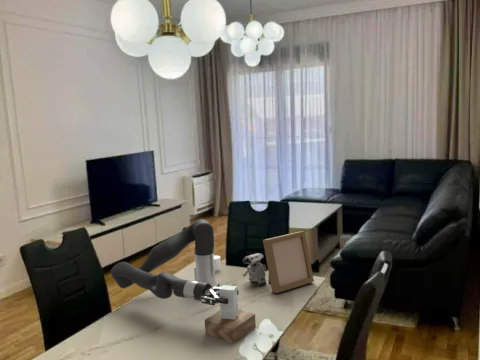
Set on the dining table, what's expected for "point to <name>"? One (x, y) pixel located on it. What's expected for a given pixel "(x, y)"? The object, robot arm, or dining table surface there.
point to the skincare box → (229, 302)
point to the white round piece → (217, 262)
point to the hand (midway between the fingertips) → (233, 296)
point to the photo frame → (288, 261)
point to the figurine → (255, 268)
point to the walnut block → (230, 326)
